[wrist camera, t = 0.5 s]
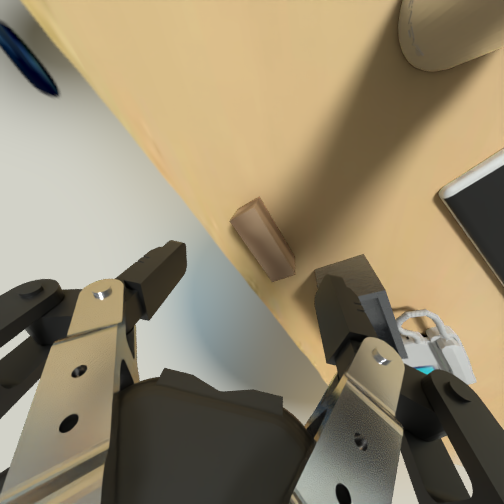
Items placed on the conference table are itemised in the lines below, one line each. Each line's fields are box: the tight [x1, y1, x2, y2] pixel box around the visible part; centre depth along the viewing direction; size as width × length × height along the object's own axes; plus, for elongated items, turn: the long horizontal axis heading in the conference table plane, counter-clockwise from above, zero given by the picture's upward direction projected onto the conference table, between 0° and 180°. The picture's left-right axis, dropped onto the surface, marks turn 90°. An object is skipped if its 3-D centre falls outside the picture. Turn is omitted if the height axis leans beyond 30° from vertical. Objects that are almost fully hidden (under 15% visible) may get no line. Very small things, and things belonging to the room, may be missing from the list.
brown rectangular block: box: [230, 196, 295, 282], centre depth 28 cm, size 4×12×5 cm, turn 33°
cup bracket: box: [315, 254, 408, 359], centre depth 30 cm, size 8×16×8 cm, turn 32°
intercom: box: [396, 309, 476, 384], centre depth 36 cm, size 13×4×25 cm
